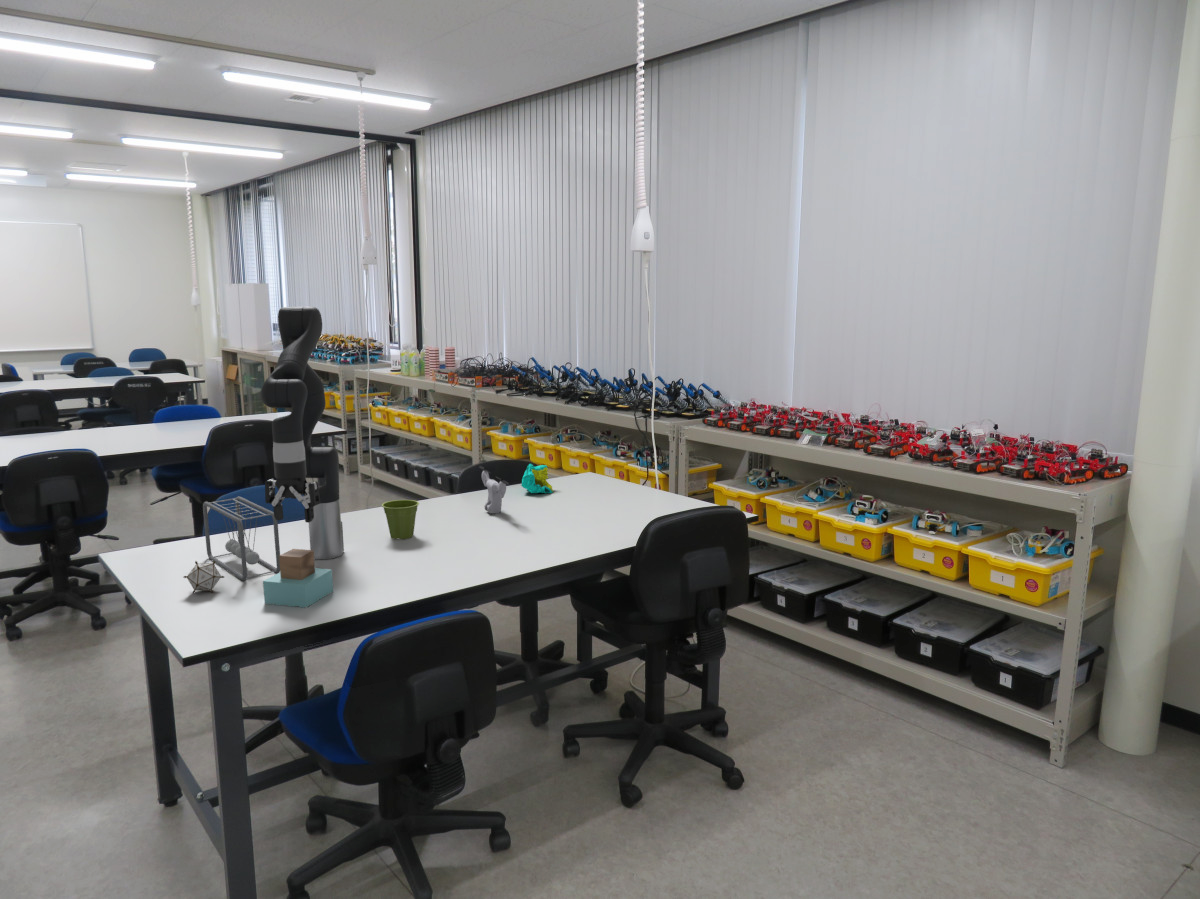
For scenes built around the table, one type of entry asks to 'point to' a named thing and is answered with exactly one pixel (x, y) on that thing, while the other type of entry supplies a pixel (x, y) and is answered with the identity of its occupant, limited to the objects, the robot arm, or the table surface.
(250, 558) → the newton's cradle
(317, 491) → the robot arm
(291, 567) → the walnut cube
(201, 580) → the game die
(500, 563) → the table surface
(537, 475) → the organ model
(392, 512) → the plant pot
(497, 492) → the figurine
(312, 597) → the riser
